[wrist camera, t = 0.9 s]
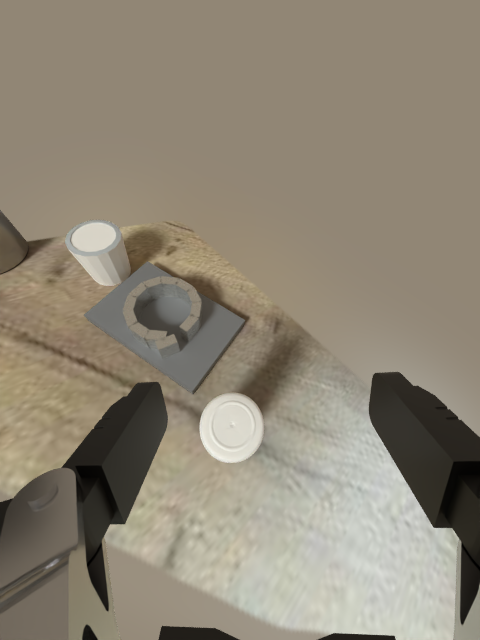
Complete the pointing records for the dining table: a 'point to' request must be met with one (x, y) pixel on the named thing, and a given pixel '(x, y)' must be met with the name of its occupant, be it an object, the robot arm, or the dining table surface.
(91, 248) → the white tapered cup
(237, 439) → the sprinkles bottle
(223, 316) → the socket plate
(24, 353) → the dining table surface
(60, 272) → the dining table surface
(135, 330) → the stone block collar
